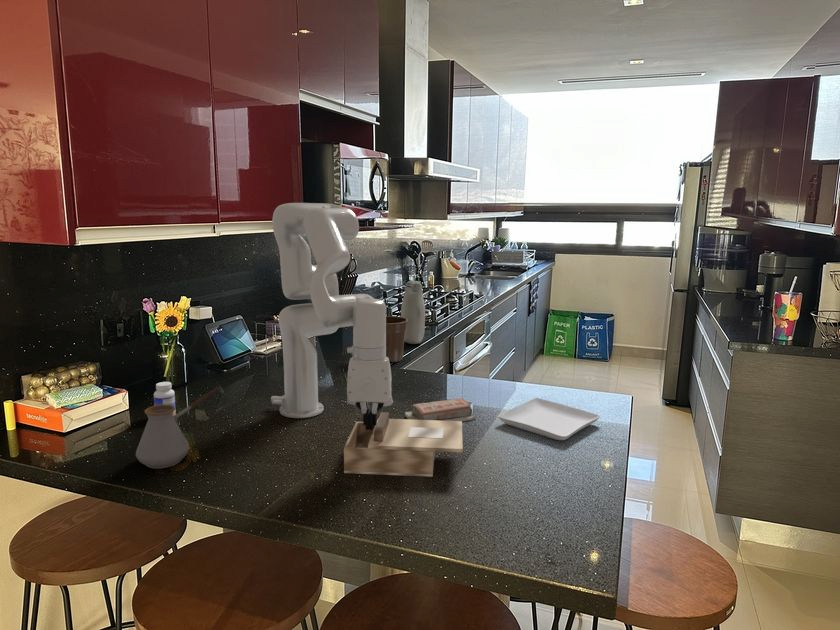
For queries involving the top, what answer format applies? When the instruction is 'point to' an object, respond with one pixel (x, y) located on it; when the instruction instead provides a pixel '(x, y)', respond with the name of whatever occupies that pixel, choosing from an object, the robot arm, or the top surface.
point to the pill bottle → (164, 395)
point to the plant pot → (395, 337)
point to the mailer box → (383, 457)
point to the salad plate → (548, 418)
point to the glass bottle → (413, 312)
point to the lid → (416, 435)
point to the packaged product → (442, 411)
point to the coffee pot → (164, 436)
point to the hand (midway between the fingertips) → (370, 427)
